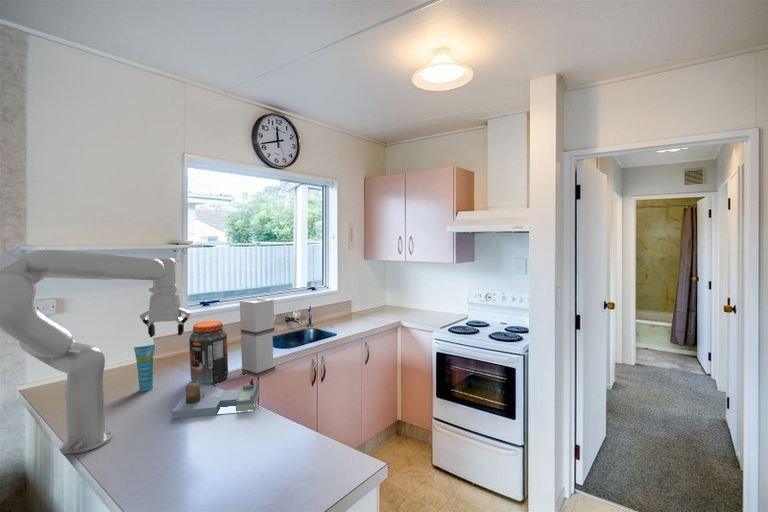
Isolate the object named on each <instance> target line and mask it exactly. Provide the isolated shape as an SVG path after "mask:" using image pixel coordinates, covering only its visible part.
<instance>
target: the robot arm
mask: <svg viewBox="0 0 768 512" xmlns="http://www.w3.org/2000/svg"><path fill="white" fill-rule="evenodd" d="M176 275H177V273H176V260H175V259H174V258H172V257H158V258H157V257H156V258H148V257H136V256H135V257H134V256H124V255H116V254H110V253H108V254H107V253H101V252H89V251H88V252H87V251H77V250H76V251H74V250H62V249H37V250H34V251H31V252H29V253H27V254H25V255H23V256H22V257H20V258H18V259H17V260H15V261H13V262H11V263H9V264H8V265H6V266H4V267H3V268H1V269H0V330H1V331H3V332H4V333H5V334H7V335H9V336H10V337H12V338H13V339H15V341H18V343H19V346H20V348H21V349H22V350H23V351H24V352H25V353H27V355H28V354H29V355H30V356H31V357H33V358H35V359H36V360H38V361H40V362H42V363H44V364H45V365H47V366H49V367H51V368H53V369H54V370H56V371H59V372H62V373H65V374H66V382H65V385H64V386H65V388H64V389H65V390H64V397H65V412H66V427H67V428H66V429H67V439H66V440H65V441H64V442H63V444H62V445H61V448H60V453H61V455H62V454H63V455H66V454H70V455H71V454H72V455H73V454H81V453H85V452H90V451H92V450H95V449H99V448H100V447H102V446H103V445H105V444H107V443H108V442H109V441H110V440H111V439H112V437H113V433H112V431H111V430H109V429H107V428H106V427H107V426H106V409H105V408H106V407H105V394H104V392H105V391H104V372H105V366H106V365H105V364H106V357H105V355H104V353H103V351H102V350H101V349H100V348H98V347H97V346H93V345H91V344H86V343H81V342H78V341H76V340H75V339H74V338H73V335H72V333H71V332H70V331H69V330H68V329H67V328H66V327H63V326H62V325H60V324H58V323H56V322H55V321H54V320H52V319H50V318H49V317H47V316H46V315H44V314H43V313H41V312H40V310H38V309H37V307H36V306H35V297H36V292H37V287H36V284H37V283H39V282H40V281H41V280H43V279H45V278H49V279H50V278H51V279H74V280H75V279H77V280H78V279H79V280H108V281H109V280H139V281H152V287H149V289H148V292H149V293H152V294H150V298H149V305H148V310H147V311H145V312H143V313H142V314H139V318H140V320H141V321H142V323H143V324H145V325H146V327H148V328H147V329H148V330H147V331H148V332H147V333H148V334H147V335H149V338H153V337H154V336H155V335H156V329H155V328H156V327H155V324H154V323H159V322H163V323H164V322H174V321H175V322H177V323H178V325H177V335H178V336H181V335H183V333H184V332H185V331H184V330H185V329H184V325H185V323H186V321H188V320H189V318H190V316H191V314H192V312H191V311H189V310H187V309H184V308H182V305H181V301H180V295H179V292H178V293H177V279H176V277H177V276H176ZM182 314H183V315H185V316H184V318H182ZM147 316H148V318H147Z"/></svg>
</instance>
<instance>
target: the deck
mask: <svg viewBox="0 0 768 512" xmlns="http://www.w3.org/2000/svg"><path fill="white" fill-rule="evenodd" d="M259 396H260V383H259V380H256V381H255V383H254V384H249V385H248V384H246V385H243V387H242V389H231V390H230V389H229V390H222V392H221V394H220V395H219V396H211V397H206V395H205V392H200V397H201V400H200V401H199V402H197V403H193V404H187V403H186V393H185V394H184V395H183V397H182V398H181V399H180V401H179V402H178V403H177V404H176V405H175V407H173V409H172V410H171V418H172V420H179V418H180V419H188V418H199V416H202V417H211V416H210V415H212V416H218V415H217V413H218V411H219V409H220V407H228V406H236V411H246V410H247V411H248V410H254V411H255V409H254V407H256V406H254V405H257V403H258V400H259Z"/></svg>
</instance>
